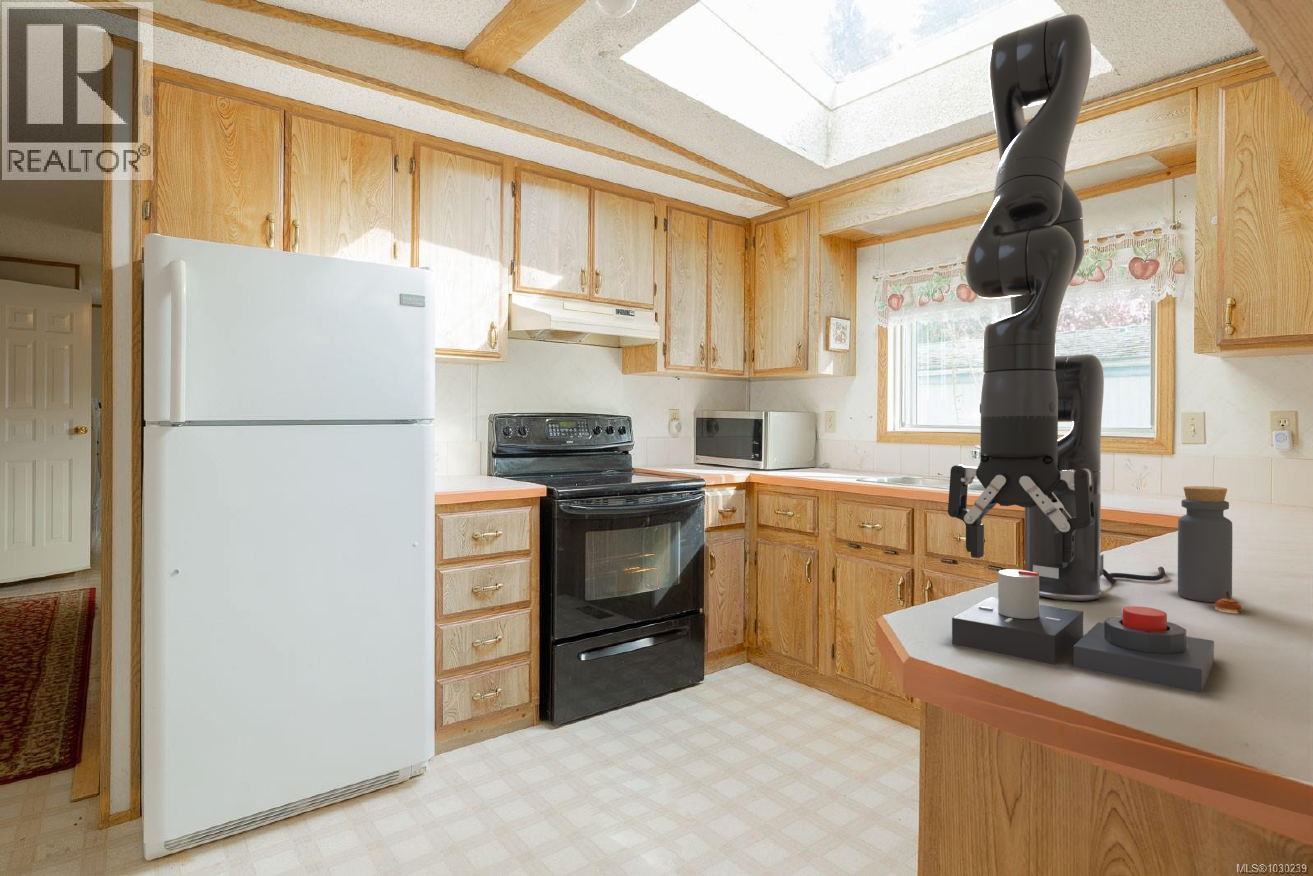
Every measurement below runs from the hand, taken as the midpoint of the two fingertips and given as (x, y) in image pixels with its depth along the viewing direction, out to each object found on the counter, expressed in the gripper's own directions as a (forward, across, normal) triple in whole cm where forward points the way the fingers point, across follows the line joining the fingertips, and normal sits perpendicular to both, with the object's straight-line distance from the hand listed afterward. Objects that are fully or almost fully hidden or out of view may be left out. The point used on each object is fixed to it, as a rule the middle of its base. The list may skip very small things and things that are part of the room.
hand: (1017, 561), depth 77 cm
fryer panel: (+9, 0, 0) cm, 9 cm away
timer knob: (+6, 0, 0) cm, 6 cm away
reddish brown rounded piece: (+9, -16, -31) cm, 36 cm away
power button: (+5, -11, 0) cm, 13 cm away
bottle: (+8, -13, -37) cm, 40 cm away
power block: (+9, -12, 0) cm, 15 cm away
